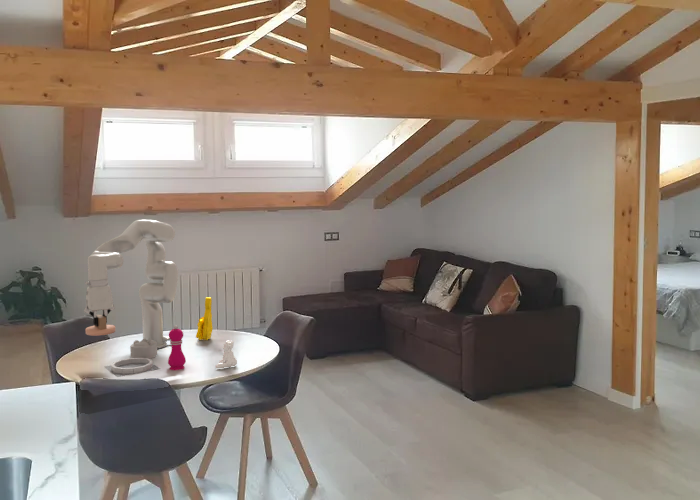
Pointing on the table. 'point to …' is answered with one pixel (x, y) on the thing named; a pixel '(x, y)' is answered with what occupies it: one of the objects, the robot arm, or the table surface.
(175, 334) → the pepper mill
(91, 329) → the cover
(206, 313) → the figure statuette
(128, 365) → the base plate
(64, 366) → the table surface
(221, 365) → the seated beast figurine
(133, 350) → the lumpy-topped squat cylinder
